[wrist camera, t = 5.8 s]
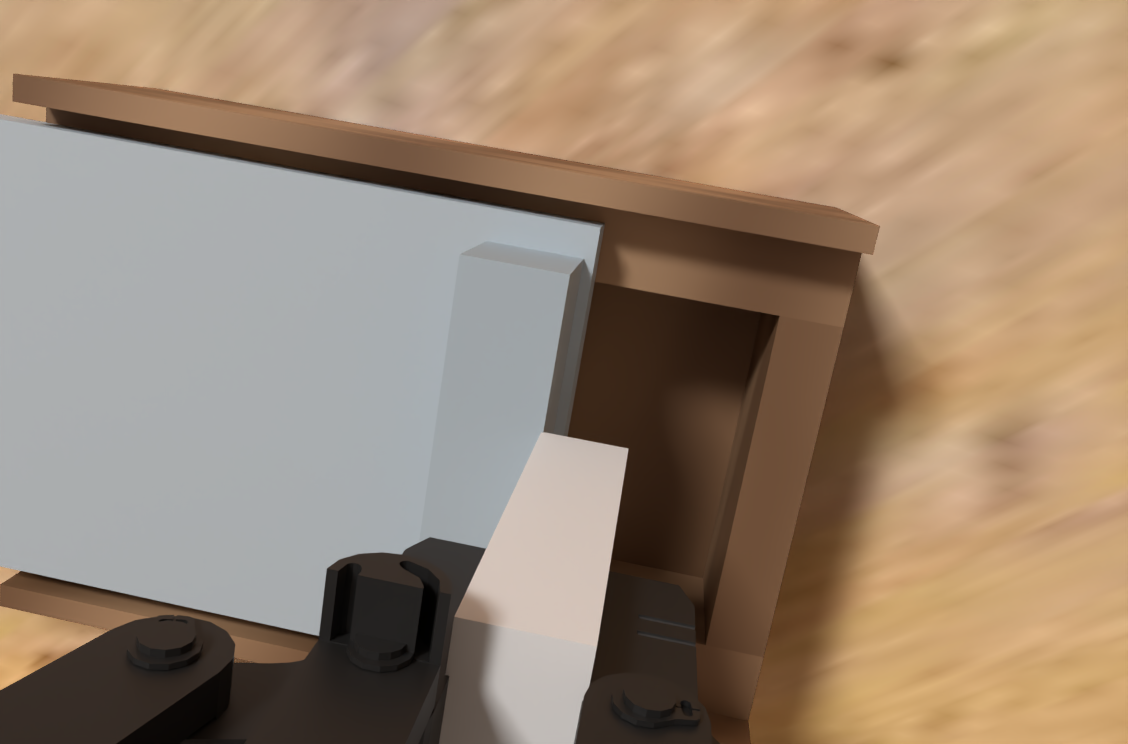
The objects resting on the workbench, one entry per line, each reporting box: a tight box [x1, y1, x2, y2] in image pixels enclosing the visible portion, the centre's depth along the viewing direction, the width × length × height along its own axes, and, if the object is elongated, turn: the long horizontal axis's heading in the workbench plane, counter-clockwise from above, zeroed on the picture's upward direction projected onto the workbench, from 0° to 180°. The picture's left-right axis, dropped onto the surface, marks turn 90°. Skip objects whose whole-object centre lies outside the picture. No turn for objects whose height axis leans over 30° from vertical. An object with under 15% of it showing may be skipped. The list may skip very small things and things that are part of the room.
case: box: [0, 74, 880, 744], centre depth 21 cm, size 16×11×5 cm
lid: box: [0, 114, 605, 636], centre depth 19 cm, size 16×9×3 cm, turn 80°
